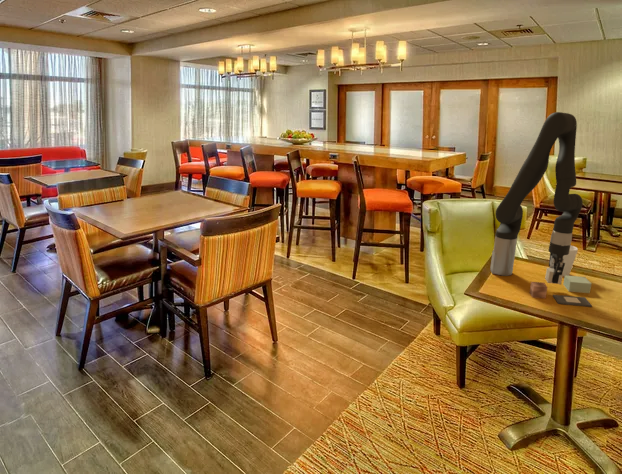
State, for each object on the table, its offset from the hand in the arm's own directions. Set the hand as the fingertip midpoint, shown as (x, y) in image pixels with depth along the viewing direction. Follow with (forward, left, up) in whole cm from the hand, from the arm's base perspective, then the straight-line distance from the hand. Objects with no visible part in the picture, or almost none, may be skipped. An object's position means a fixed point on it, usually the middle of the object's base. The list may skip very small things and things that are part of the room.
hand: (553, 280), depth 194 cm
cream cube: (0, 0, 0) cm, 0 cm away
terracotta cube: (-7, -8, -4) cm, 12 cm away
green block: (+11, +4, -5) cm, 12 cm away
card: (+5, -11, -4) cm, 13 cm away
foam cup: (+10, +22, -5) cm, 25 cm away
